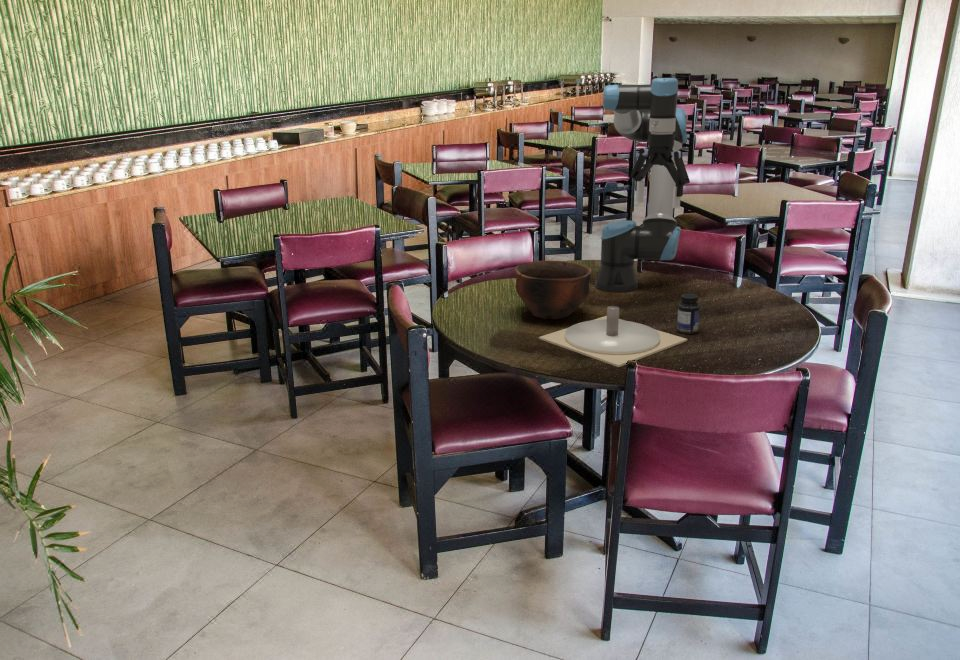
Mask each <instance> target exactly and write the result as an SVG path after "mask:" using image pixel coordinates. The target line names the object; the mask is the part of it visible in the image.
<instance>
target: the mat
mask: <svg viewBox="0 0 960 660" xmlns="http://www.w3.org/2000/svg"><path fill="white" fill-rule="evenodd" d="M592 320H607V315H605V316H601V317H598V318H595V319H591V320H590V321H592ZM619 320H623V321H626V320H625V319H621V318H619ZM568 328H569V327H565V328H562V329H560V330H557V331H554V332H550V333H547V334H544V335H541V336H538V339H539V340H541V341H544V342H547V343H549V344H552V345H555V346H558V347H561V348H564V349H566V350H569V351H571V352H575V353H577V354H580V355H583V356H586V357H587V358H588V357H589V358H592V359H594V360H597V361H600V362H602V363H605V364H609V365H611V366H614V367H616V368H620V367H623V366H626V365H627V364H626V363H627V361H628V360H635V361H634V362H636V361H638V360H641V359H644V358H647V357H649V356H651V355H654V354H657V353H659V352H661V351H662V352H663V351H665V350H668V349H669V348H673V347H675V346H677V345H680V344H683V343H685V342H688V338H684V337H682V336H680V335H679V336H677V335H675V334H671V333H670V332H669V333H668V332H664V331H661V330H658V329H655V328H653V329H654V330H656V331H657V332H658V333H659V335H660V343H659V344H658V346H657V347H655V348H653V349H651V350H649V351H646V352H642V353H636V354H627V355H608V354H599V353H592V352H588V351H584V350H581V349H578V348H576V347H574V346H572V345H570V344H569V343H568V342H567V341H566V339H565V331H566V330H567V329H568Z"/></svg>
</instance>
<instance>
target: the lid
mask: <svg viewBox="0 0 960 660" xmlns="http://www.w3.org/2000/svg"><path fill="white" fill-rule="evenodd" d="M606 316H607V320H594V319H591V320H592V321H591V320H585V321H582V322H579V323H575V324H573V325H571V326H569V327H567V328H568V329H567V330H566V331H565V339H566V341H567V342H568V343H569V344H570V345H572V346H574V347H576V348H578V349H581V350H584V351H588V352H592V353H599V354H608V355H627V354H636V353H642V352H646V351H649V350H651V349H653V348H655V347H657V346H658V344H659V343H660V335H659V333H658V332H657V331H656V330H657V329H655V328H653V327H651V326H649V325H646V324H642V323H639V322H635V321H630V320H629V321H628V320H625V321H623V320H624V319H621V320H619V319H620V307H619V306H616V305H610V306H607V307H606ZM654 329H655V330H654Z"/></svg>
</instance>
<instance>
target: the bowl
mask: <svg viewBox="0 0 960 660" xmlns="http://www.w3.org/2000/svg"><path fill="white" fill-rule="evenodd" d="M514 272H515V274H516V275H515V276H516V278H515V289H516V293H517V295H518V296H519V298H520V299H521V301H523V303H524V304H525V306H526V307H527V308H528V310H529V311H530V312H531V314H532V315H533V316H534V317H536V318H539V319H545V320H548V319H551V320H559V319H561V320H562V319H564V318H568V317H569V316H571V315H572V314H573V312H574V311H575V310H576V309H578V308H579V307H580V305H581V304H583V302H585V300H586V299H587V298H588V297H589V295H590V280H591V275H592V273H593V271H592V269H591V267H588V266H586V265H583V264H580V263H576V262H572V261H564V260H537V261H529V262H523V263H520V264H518V265H516V266H515V267H514Z"/></svg>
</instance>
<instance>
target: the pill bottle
mask: <svg viewBox="0 0 960 660" xmlns="http://www.w3.org/2000/svg"><path fill="white" fill-rule="evenodd" d="M698 300H699V295H697V294H693V293H684V294H682V295H681V296H680V301H681V302H679V303H678V305H677V306H678V307H677V319H676V320H677V321H676V331H677V332H679V333H680V334H683V335H695V334H696V333H698V332H699V320H700V304H699V303H698Z"/></svg>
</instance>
